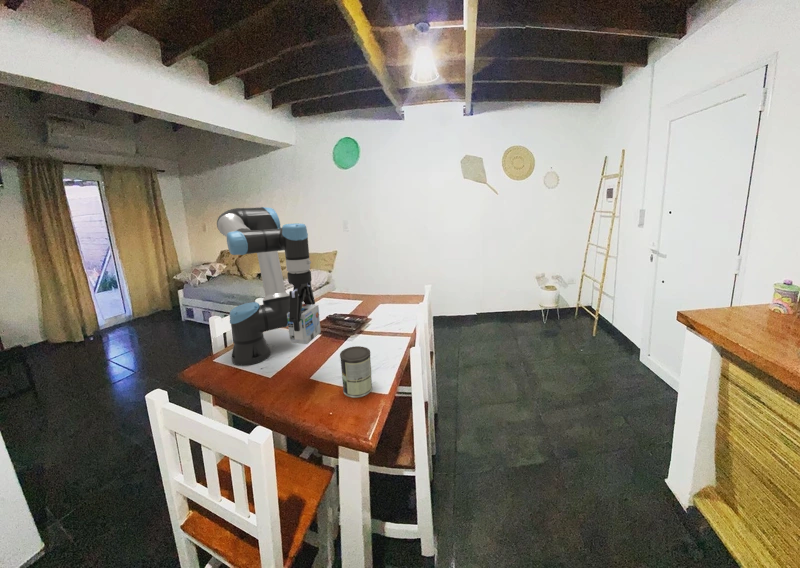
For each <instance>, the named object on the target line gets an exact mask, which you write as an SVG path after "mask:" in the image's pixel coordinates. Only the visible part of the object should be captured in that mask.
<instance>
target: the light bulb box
mask: <svg viewBox="0 0 800 568" xmlns="http://www.w3.org/2000/svg"><path fill="white" fill-rule="evenodd" d="M287 320H288V326H287V327H288V335H289V336H288V337H289V342H290V344H299V345H300V344H301V345H308V344H309V343H310V342H312V341H313V340H314V339H315V338H317V336H318V335H320V334H321V332H322V331H321V323H320V321H321V320H320V309H319V304H313V305H312V304H305V303H302V310H301V318H300V320H302V328H303V338H304V339H303V340H295V337H294V328H293V322H289V313H287Z"/></svg>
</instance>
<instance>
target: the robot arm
mask: <svg viewBox="0 0 800 568" xmlns="http://www.w3.org/2000/svg"><path fill="white" fill-rule="evenodd" d="M216 228H217V229H218V231H219V234H221V235H222V236H224V237H226V244H227V248H228V251H229V252H228V253H230V254H231V255H232V256H245V255H253V254H256V256H257V261H258V266H259V269H260V270H259V271H260V276H261V281H262V284H263V290H264V298H263V299H262V304H259V302H257V301H252V302H245V303H242V304H240V305H237V306H235V307H233V308H231V310H230V312H229V324H230V326H231V333H232V334H231V335H232V340H233V348H232V353H231V361H232V364H234V365H236V366H251V365H255V364H259V363H261V362H263V361H265V360H267V359H269V358H270V356H271V349H270V346H269V344H268V343H267V341H266V339H265V337H264V336H265V335H264V333H265V332H268V331H272V330H277V329H283V328H286V327H288V320H287V313H289V322H293V328H294V337H295V340H303V339H304V338H303V328H302V320H300V318H301V310H302V304H312V305H316V300H315V297H314V293H313V289H312V272H311V264H312V261H311V260H310V259H311V258H310V249H309V248H310V247H309V233H308V229H307V225H306V224H305V223H286V224H285V223H284V224H283V225H282V227H281V221H280V218H279V215H278V213H277V212H276V210H275V209H274V208H273V207H263V206H261V207H243V208H242V207H236V208H230V209H228V210H227V211H224V212H223V213H221V214H220V215H219V216H218V218H217V219H216ZM280 251H284V255H285V268H286V271H287V282H288V283H289V285H292V286H293V289H292V290H289V293H287V292H286V287H285V286H286V285H285V282H284V277H283V272H282V267H281V262H280V257H279V252H280Z"/></svg>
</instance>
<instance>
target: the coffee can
mask: <svg viewBox="0 0 800 568" xmlns="http://www.w3.org/2000/svg"><path fill="white" fill-rule="evenodd" d="M339 357H340V366H341V367H340V369H341V378H342V381H341V382H342V389H343V390H342V392H343V394H344V395H345V396H346V397H348V398H353V399H356V398H362V397H363V398H364V396H365V397H366V396H368V395H369V394H370V393H371V392H372V390H373V382H372V367H371V366H372V364H371V350H370V349H369V348H368V347H365V346H360V345H359V346H358V345H357V346H350V347H346V348H345V349H342V351H340V353H339Z"/></svg>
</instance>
